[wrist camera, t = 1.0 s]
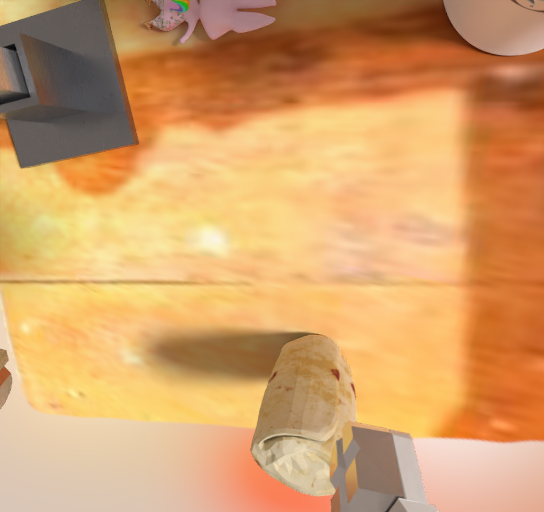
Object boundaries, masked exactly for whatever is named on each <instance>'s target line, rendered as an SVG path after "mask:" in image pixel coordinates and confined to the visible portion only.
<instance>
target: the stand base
mask: <svg viewBox="0 0 544 512" xmlns="http://www.w3.org/2000/svg"><path fill="white" fill-rule="evenodd" d="M0 47H3V48H6V49H10V50H13V51H17V53H18V56H19V60H20V63H21V66H22V70H23V73H24V77H25V80H26V84H27V87H28V90H29V94H30V97H29V98H25V99H21V100H18V101H14V102H10V103H0V119H7V123H8V126H9V129H10V132H11V135H12V139H13V142H14V145H15V148H16V152H17V155H18V158H19V161H20V165H21V168H31V167H35V166H40V165H44V164H49V163H54V162H58V161H63V160H68V159H72V158H77V157H82V156H86V155H91V154H95V153H100V152H105V151H109V150H114V149H119V148H123V147H128V146H132V145H137V144H139V142H138V138H137V134H136V129H135V125H134V121H133V117H132V113H131V109H130V105H129V101H128V97H127V93H126V89H125V85H124V80H123V76H122V72H121V68H120V64H119V60H118V56H117V52H116V48H115V44H114V40H113V36H112V31H111V27H110V23H109V19H108V15H107V11H106V7H105V3H104V0H82V1H79V2H76V3H72V4H69V5H66V6H63V7H60V8H56V9H53V10H50V11H47V12H44V13H40V14H37V15H34V16H31V17H28V18H24V19H21V20H18V21H15V22H12V23H8V24H5V25H2V26H0Z"/></svg>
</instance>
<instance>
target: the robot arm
mask: <svg viewBox="0 0 544 512" xmlns="http://www.w3.org/2000/svg"><path fill="white" fill-rule="evenodd" d="M443 2H444V6H445V9H446V12H447V15H448V17H449V19H450V21H451V23H452V25H453V26H454V28H455V29H456V31H457V32H458V33H459V34H460V35H461V36H462V37H463V38H464V39H465V40H466V41H467V42H469V43H470V44H471V45H473V46H475V47H476V48H478V49H481V50H483V51H486V52H489V53H492V54H497V55H507V56H513V55H523V54H528V53H532V52H536V51H539V50H541V49H544V0H443ZM7 362H8V355H7V352H6V350H3V349H0V409H1V407H2V406H3V405H4V403H5V402H6V400H7V397H8V395H9V393H10V390H11V385H12V377H11V373H10V372H9V371H8V370H7V369H6V368H5V367H4V365H5V364H6V363H7ZM330 482H331V483H332V485H333V487H334V488H335V490H336V491H335V493H334V495H333V497H332V499H331V512H440V511H439V510H438V509H437V507H436V506H435V505H432V504H429V503H428V500H427V495H426V491H425V487H424V483H423V479H422V476H421V471H420V467H419V464H418V459H417V456H416V451H415V447H414V443H413V439H412V437H411V436H410V434H409V433H405V432H400V431H395V430H390V429H387V428H383V427H377V426H372V425H367V424H362V423H357V422H352V421H348V422H346V423H345V424H344V426H343V428H342V438H341V439H339V440H337V441H336V442H335V445H334V447H333V449H332V453H331V458H330Z"/></svg>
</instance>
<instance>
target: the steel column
mask: <svg viewBox="0 0 544 512" xmlns="http://www.w3.org/2000/svg"><path fill="white" fill-rule="evenodd" d="M29 97H30V94H29V90H28V87H27V84H26V80H25V77H24V73H23V70H22V66H21V63H20V60H19V56H18V53H17V51H13V50H10V49H6V48H3V47H0V103H10V102H14V101H18V100H21V99H25V98H29Z"/></svg>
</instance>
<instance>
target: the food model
mask: <svg viewBox="0 0 544 512" xmlns="http://www.w3.org/2000/svg"><path fill="white" fill-rule="evenodd" d="M348 421H352V422H356V396H355V387H354V382H353V378H352V375H351V372H350V369H349V366H348V364H347V362H346V360H345V359H344V357H343V356H342V355H341V354H340V350H339V347H338V345H337V344H336V343H335V342H334V341H333V340H332V339H330V338H328V337H325V336H322V335H307V336H303V337H300V338H298V339H295V340H293V341H290V342H288V343H286V344H285V345H284V346H283V347H282V349H281V352H280V355H279V357H278V359H277V361H276V363H275V365H274V367H273V370H272V374H271V377H270V380H269V383H268V385H267V388H266V390H265V393H264V397H263V400H262V404H261V408H260V411H259V416H258V422H257V426H256V430H255V434H254V436H253V440H252V445H251V453H252V455H253V457H254V460H255V461H256V462H257V464H258V465H259V466H260V467H261V468H262V469H263V470H264V471H265V472H266V473H268V474H269V475H270V476H271V477H273V478H275V479H276V480H278V481H280V482H281V483H283V484H285V485H287V486H288V487H290V488H292V489H294V490H296V491H298V492H300V493H304V494H308V495H312V496H324V495H333V494H334V493H335V491H336V490H335V488H334V487H333V485H332V483H331V482H330V458H331V453H332V449H333V447H334V445H335V442H336V441H337V440H339V439H341V438H342V428H343V426H344V424H345V423H346V422H348Z"/></svg>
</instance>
